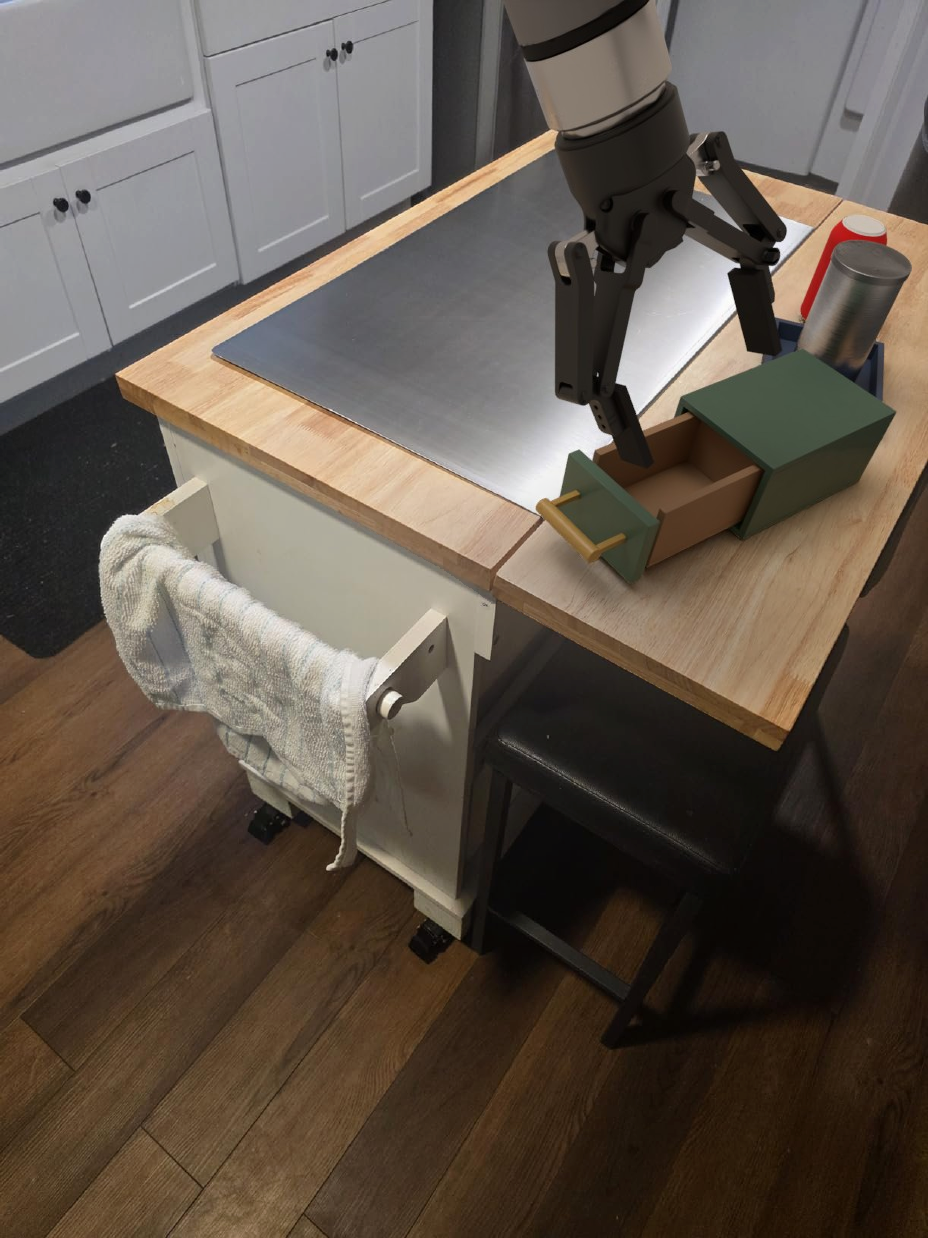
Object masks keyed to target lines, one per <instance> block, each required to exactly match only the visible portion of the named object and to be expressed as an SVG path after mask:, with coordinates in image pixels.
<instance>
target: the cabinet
mask: <svg viewBox="0 0 928 1238" xmlns="http://www.w3.org/2000/svg"><path fill="white" fill-rule="evenodd" d="M687 412H691V413H693V414H694V415H695V416H697V417H698V418H699V419H700V420H702V421H703V422H704V423H705V424H707V425H708V426H709V427H711V428H712V429H713V430H714V431H716V432H717V433H718V434H719V435H721V436H722V437H723V438H725V439H726V440H727V441H728V442H730V443H731V444H732V445H733V446H735V447H736V448H737V449H739V450H740V451H741V452H742V453H744V454H745V455H746V456H747V457H749V458H750V459H751V460H753V461H754V462H755V463H756V464H758V465H759V466H760V467H761V468H763V469H764V470H765V473H764V475H763V477H762V480H761V482H760V484H759V486H758V489H757V491H756V493H755V496H754V498H753V500H752V502H751V505H750V507H749V509H748V512H747V514H746V516H745V518H744V520H743V521H741V522H739V523H737V524H735V525H733V526H731V527H729V528H727V529H728V530H729V531H730V532H731V533H733V534H734V535H735V536H736V537H737V538H738V539H740V540H741V541H744V540H746V539H748V538H750V537H752V536H754V535H756V534H758V533H760V532H762V531H764V530H766V529H768V528H771V526H775V525H776V524H778V523H780V522H782V521H784V520H785V519H787V518H790V517H792V516H793V515H794V516H795V515H796V514H797V513H799V512H801V511H804V510H806V509H807V508H809V507H811V506H814V505H816V504H817V503H819V502H822V501H823V500H826V499H827V498H829V497H831V496H834V495H835V494H837V493H839V492H841V491H843V490H845V489H847V488H849V487H851V486H853V485H855V484H857V483H859V482H860V480H861V478H862V476H863V474H864V472H865V471H866V469H867V467H868V465H869V464H870V462H871V459H873V456H874V454H875V453H876V451H877V449H878V447H879V445H880V443H881V441H882V440H883V438H884V436H885V434H886V432H887V431H888V429H889V427H890V425H891V423H892V422H893V420H894V418H895V416H896V414H897V410H895V409H894V408H892V407H891V406H890V405H888V404H886V402H884V401H883V402H882V401H880V400H879V399H877V398H876V397H874V396H873V395H871V394H870V393H868V392H867V391H865V390H864V389H862V388H861V387H859V386H858V385H856V384H855V383H853V382H852V381H850V380H849V379H847V378H846V377H844V376H843V375H842V374H840V373H839V372H837V371H836V370H834V369H833V368H831V367H830V366H828V365H827V364H825V363H824V362H822V361H821V360H819V359H818V358H816V357H815V356H813V355H812V354H810V353H809V352H807V351H806V350H804V349H800V350H797V351H795V352H792V353H790V354H787V355H785V356H782V357H780V358H777V359H774V360H772V361H769V362H767V363H764V364H762V365H761V364H759V365H756V366H754V367H752V368H749V369H747V370H744V371H742V372H739V373H735V374H733V375H731V376H729V377H726V378H724V379H721V380H719V381H717V382H713V383H710V384H709V385H705V386H704V387H701V388H698V389H696V390H694V391H690V392H688V393H686V394H683V395H680V397H679V399H678V403H677V406H676V410H675V412H674V416H673V418H675V417H678V416H680V415H683V414H685V413H687Z"/></svg>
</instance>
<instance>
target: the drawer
mask: <svg viewBox="0 0 928 1238" xmlns="http://www.w3.org/2000/svg"><path fill="white" fill-rule="evenodd" d="M642 431H643V433H644V436H645V439H646V441H647V444H648V447H649V450H650V452H651V455H652V458H653V461H654V463H653V464H652V465H651V466H649V467H648V468H647V469H646V468H643V467H640V466H637V465H634V464H631V463H628V462H625V461H623V460H621V458H620V456H619V453H618V450H617V448H616V445H615V443H614V441H613V442H611V443H608V444H606V445H604V446H602V447H599V448H596V449H594V451H593V456H592V459H591V458H590V457H588V456H587V454H585V453H584V452H583V450H581V449H576V450H573V451H571V452H569V453H567V454H568V455H567V458H566V463H565V468H564V473H563V477H562V478H563V479H562V484H561V486H560V487H561V488H560V493H559V497H556V498H554V499H551V500H550V499H549V498H548V497H543V498H541V499H540V500H538V502H537V503H536V505H535V511H536V513H538V514H539V515H540V517H542V518H543V520H544V521H546V522H547V524H549V526H551V527H552V528H553V530H555V531H556V533H558V534H559V535H560V536H561V538H563V539H564V540H565V541H566V542H567V543H568V544H569V545H570V546H571V548H572V549H574V550H575V551H576V553H578V554H579V555H580V557H582V558H583V559H584V560H585V562H587V563H588V564H593V563H595V562H596V561H598V559H599V558H600V557H602V559H604V560H605V561H606V562H607V564H609V565H610V566H611V567H612V568H613V569H614V570H615V571H616V572H617V573H618V574H619V575H620V576H621V577H622V578H623V579H624V580H625V581H626V582H627V583H628V584H629V585H632V584H635V583H636V582H639V581H640V580H642V578H643V577H642V576H643V574H644V571H645V568H649V567H652V566H654V565H656V564H659V563H661V562H662V561H664V560H665V559H668V558H670V557H672V556H674V555H676V554H679V553H681V552H683V551H684V550H687V549H688V548H690V547H692V546H694V545H697V544H699V543H700V542H702V541H705V540H706V539H709V538H711V537H713V536H714V535H717V534H719V533H721V532H722V531H725V530H727V529H728V528H729V527H731V526H733V525H735V524H737V523H739V522H741V521H743V520H744V518H745V516H746V514H747V512H748V509H749V507H750V505H751V502H752V500H753V498H754V496H755V493H756V491H757V489H758V486H759V484H760V482H761V480H762V477H763V475H764V473H765V470H764V469H763V468H761V467H760V466H759V465H758V464H756V463H755V462H754V461H753V460H751V459H750V458H749V457H747V456H746V455H745V454H744V453H742V452H741V451H740V450H739V449H737V448H736V447H735V446H733V445H732V444H731V443H730V442H728V441H727V440H726V439H725V438H723V437H722V436H721V435H719V434H718V433H717V432H716V431H714V430H713V429H712V428H711V427H709V426H708V425H707V424H705V423H704V422H703V421H702V420H700V419H699V418H698V417H697V416H695V415H694V414H693V413H691V412H687V413H685V414H683V415H680V416H678V417H675V418H674V417H673V418H670V419H668V420H665V421H663V422H661V423H658V424H655V425H653V426H650V427H648V428H646V429H642Z"/></svg>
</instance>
